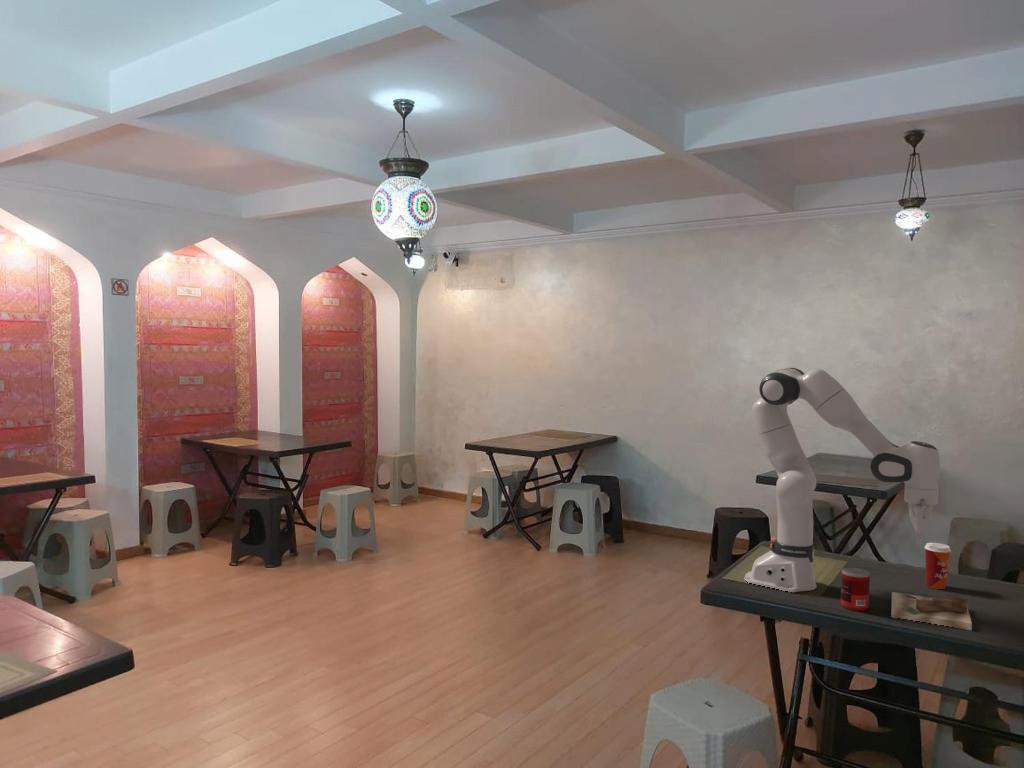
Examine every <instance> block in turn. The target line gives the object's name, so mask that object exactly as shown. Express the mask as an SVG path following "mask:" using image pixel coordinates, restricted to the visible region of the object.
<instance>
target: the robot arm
mask: <svg viewBox="0 0 1024 768" xmlns="http://www.w3.org/2000/svg"><path fill="white" fill-rule="evenodd" d="M758 390H759V394H760V398H758V399H756V401H754V403H752V407H751V410H752V411H751V412H752V417H753V422H754V425H755V428H756V429H755V430H756V432H757V434H758V437H759V439H760V442H761V445H762V447H763V449H764V452H765V455H766V457H767V459H768V460H769V462H770V463H771V465H772V467H773V469H774V471H775V473H776V474H777V477H778V478H777V480H776V485H775V486H776V487H775V489H776V490H775V493H776V497H775V499H776V511H777V525H776V526H777V528H776V530H777V532H776V537H772V538H771V540H770V547H769V549H770V550H769V551H767V552H765V553H764V554H763V555H762V554H761V555H760V556H759V557H757V558H756V559H755V560H754V563H753V564H752V568H751V570H749V571H748V572H746V573H745V574H744V581H745V580H746V581H747V582H748V583H747V582H746V583H747V584H749V583H752V584H751V585H753V584H756V585H755V586H758V585H761V586H760V587H762V586H765V587H764V588H767V587H770V588H769V589H772V588H775V589H774V590H776V589H779V590H778V591H781V590H782V591H781V592H785V591H788V592H787V593H791V592H792V593H797V592H809V591H814V590H816V589H817V587H818V586H817V583H816V579H815V573H814V571H815V570H814V564H813V563H814V560H815V544H814V543H813V542H814V540H813V539H814V514H813V513H814V510H813V497H814V495H813V494H814V491H815V490H816V488H817V477H816V475H815V472H814V471H813V468H812V466H811V464H810V462H809V460H808V457H807V456H806V454H805V452H804V450H803V448H802V446H801V445H800V442H799V439H798V437H797V434H796V432H795V431H796V430H795V429H794V427H793V424H792V421H791V419H790V417H789V414H788V405H791V404H792V403H794V402H796V401H797V400H798V399H802V400H804V401H806V402H807V403H808V404H809V405H810V406H811V407H812V408H813V410H814V411H815V412H816V413H817V415H818V416H819V417H821V419H822V420H824V421H825V422H826V423H827V424H829V425H830V426H832V427H835V428H837V429H840V430H841V429H842V430H844V431H846V432H848V433H851V434H852V435H853V436H854V437H855V438H857V439H858V440H859V441H860V443H861V444H862V445H863V446H864V447H865V448H866V449H867V450H868V451H869V452H870V453H871V454H872V456H873V458H872V460H871V462H870V466H869V467H870V472H871V474H872V476H873V477H874V478H876V479H877V480H878V481H880V482H883V483H887V484H893V483H901V482H902V483H904V494H903V495H904V497H903V502H905V503H907V504H908V514H909V520H910V521H911V524H912V526H913V529H914V540H915V543H916V544H919V545H920V544H923V543H924V536H925V535H927V536H928V535H930V534H931V527H932V526H931V525H932V524H931V523H932V512H931V511H932V510H933V507H934V506H936V505H938V504H939V484H938V479H939V476H940V468H941V466H940V465H941V463H940V462H941V461H940V460H941V459H940V453H939V450H938V449H937V447H936V446H934V444H931V443H928V442H924V441H917V440H913V441H910V442H908V443H906V444H904V445H902V446H898V445H896V444H894V443H892V442H891V441H889V440H888V439H887V437H885V435H883V434H882V433H881V431H880V430H879V429H878V428H876V426H875V425H874V424H873V423H872V422H871V421H870V420H869V419H868V418H867V416H866V415H865V413H864V412H863V411H862V409H861V408H860V407H859V405H858V404H857V402H856V401H855V400H854V398H853V397H852V396H851V394H850V393H849V392H848V391H847V389H846V388H844V386H843V385H842V384H841V383H840V382H839V381H838V380H837V379H835V378H834V377H833V376H832V375H830V374H829V373H828V372H827V371H825V370H824V369H821V368H813V369H811V370H809V371H806V372H804V371H802V370H801V369H799V368H795V367H786V368H780V369H777V370H775V371H773V372H771V373H769V374H767V375H765V377H763V378H762V379H761V381H760V384H759V389H758Z"/></svg>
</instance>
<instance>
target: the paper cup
mask: <svg viewBox="0 0 1024 768" xmlns="http://www.w3.org/2000/svg"><path fill="white" fill-rule="evenodd" d="M924 549H925V550H924V551H925V582H926V583H925V584H926V587H927V586H929V587H932V588H935V589H934V590H937V589H944V590H946V588H947V581H948V575H949V573H948V572H949V564H950V555H951V552H952V549H951V547H950V546H949V545H948V544H945V543H939V542H927V543H925V546H924ZM929 587H928V588H929ZM932 588H931V589H932Z"/></svg>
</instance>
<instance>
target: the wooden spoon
mask: <svg viewBox="0 0 1024 768" xmlns="http://www.w3.org/2000/svg"><path fill="white" fill-rule="evenodd" d="M932 598H933V599H917V600H916V609H917V610H919V611H955V612H967V608H968V597H966V596H963V595H957V594H948V595H947V598H946V597H943V598H940V597H939V598H936V597H932Z"/></svg>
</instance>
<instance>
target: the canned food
mask: <svg viewBox="0 0 1024 768" xmlns="http://www.w3.org/2000/svg"><path fill="white" fill-rule="evenodd" d="M870 574H871V573H870V572H869V571H868V570H866V569H863V568H858V567H844V568H842V569H841V579H840V580H841V581H840V583H841V586H840V606H841V608H844V609H846V610H848V609H849V611H853V612H864V611H865V612H866V611H867V610H868V608H869V604H870V585H871V584H870V583H871V581H870V580H871V579H870V578H871V575H870Z"/></svg>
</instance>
